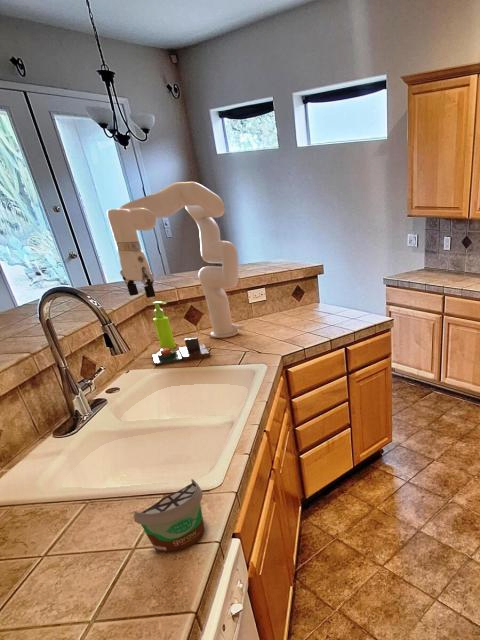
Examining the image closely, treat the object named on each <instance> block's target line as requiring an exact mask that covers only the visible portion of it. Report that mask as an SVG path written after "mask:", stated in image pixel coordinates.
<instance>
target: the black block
mask: <svg viewBox="0 0 480 640" xmlns="http://www.w3.org/2000/svg"><path fill="white" fill-rule="evenodd" d="M184 345H185V347H186V348H187V351H188V352H190V351H196V350H200V346H199V345H200V342H199V338H198V337H197V336H196V337H189V338H184Z"/></svg>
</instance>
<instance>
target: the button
mask: <svg viewBox="0 0 480 640" xmlns="http://www.w3.org/2000/svg"><path fill="white" fill-rule="evenodd" d="M170 350H171V349H170V348H163V349H162V348H160V349H159V352H161V354H168V353H171V351H170Z"/></svg>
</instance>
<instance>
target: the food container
mask: <svg viewBox="0 0 480 640" xmlns="http://www.w3.org/2000/svg"><path fill="white" fill-rule="evenodd" d="M190 481H191V483H190V484H188V485H187V486H185V487H183V488H181V489H180V490H177V491H174V492H173V493H170V494H168V495H165V496H164V497H163V498H162V499H160V500H158V501H157V502H155V503H154V504H152V505H151V506H150V507H148V508H146V509H145V510H142V511H141V512H138V511H136V510H133V512H134V514H133V521H134V523H136V524H138V525H140V526H141V527H142V529H143V530H144V533H145V534H146V536H147V538H148V540H149V542H150V543H151V545H152V546H153V549H154V550H155V551H156V552H158V553H163V554H173V553H178V552H181V551H184V550H187V549H189V548H191V547H193V546H194V545H195V544H197V543H198V542H199V541H200V540H201V539H202V538H203V536H204V534H205V523H204V517H203V511H202V506H201V505H202V504H201V503H202V500H203V496H204V495H203V490H202V488H201V487H200V485H199V483H198V482H196V481H195V480H194V479H193V478H191V480H190Z"/></svg>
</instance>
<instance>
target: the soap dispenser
mask: <svg viewBox="0 0 480 640" xmlns="http://www.w3.org/2000/svg"><path fill="white" fill-rule="evenodd" d="M151 304H152V305H154V308H155V309H154V310H153V312H154V316H155V317H154V318H153V319H152V320H153V324H154V328H155V332H156V334H157V338H158V342H159V344H160V345H159V346H160V349H163V348H170V350H172V349H174V348H176V347H177V346H176V342H175V341H176V340H175V338H174V335H173V334H174V333H173V330H172V326H171V323H170V319H169V316H166V315H165V312H164V310H163V309H162V308H161V306H160V305H166V304H167V302H166V301H154V302H151Z"/></svg>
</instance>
